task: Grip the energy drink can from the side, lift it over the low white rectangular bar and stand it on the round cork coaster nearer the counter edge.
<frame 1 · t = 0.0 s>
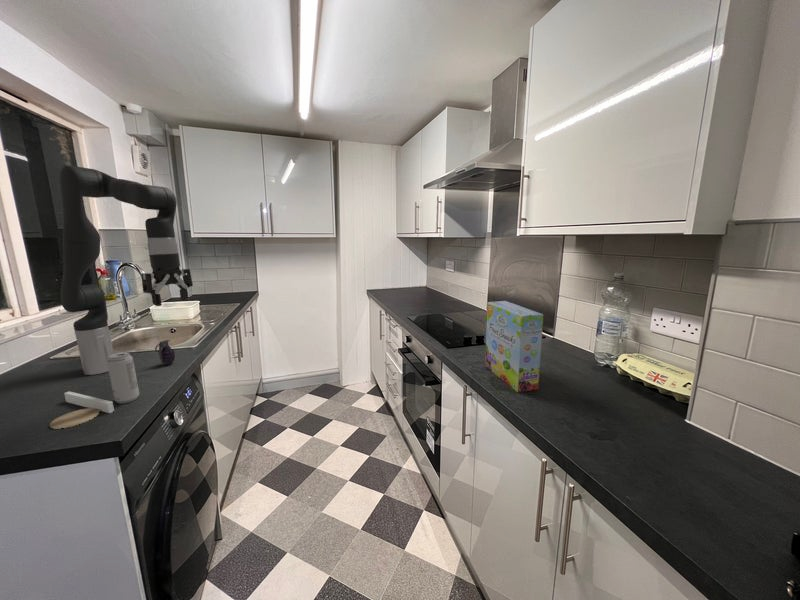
hand: (171, 303, 104), 29 cm above the worktop, tool pointing down, fingers open, 8 cm apart
white rectangular bar: (89, 406, 97), on the worktop
cork coaster: (75, 418, 91), on the worktop
energy drink can: (127, 400, 101), on the worktop
hand grenade: (168, 365, 128), on the worktop
snack box: (509, 378, 113), on the worktop
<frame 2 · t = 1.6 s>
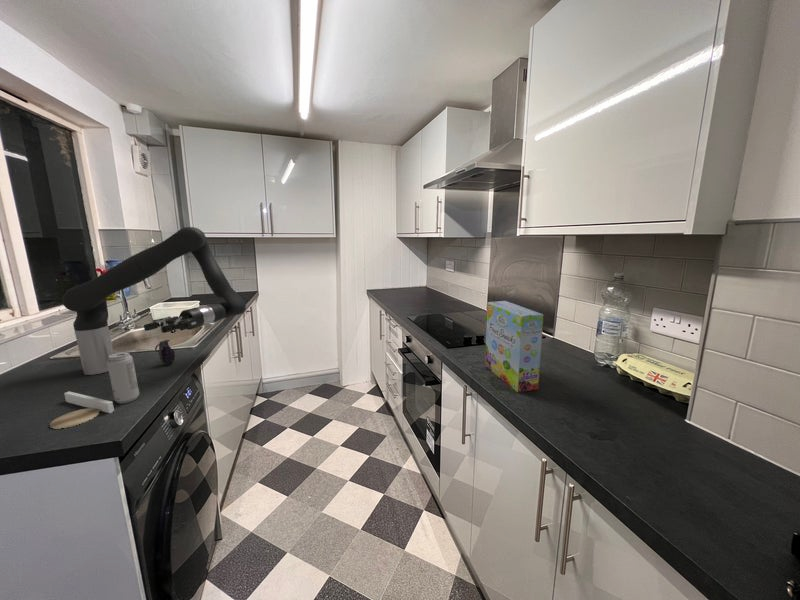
hand: (153, 329, 107), 20 cm above the worktop, tool horizontal, fingers open, 8 cm apart
nothing on the worktop moved.
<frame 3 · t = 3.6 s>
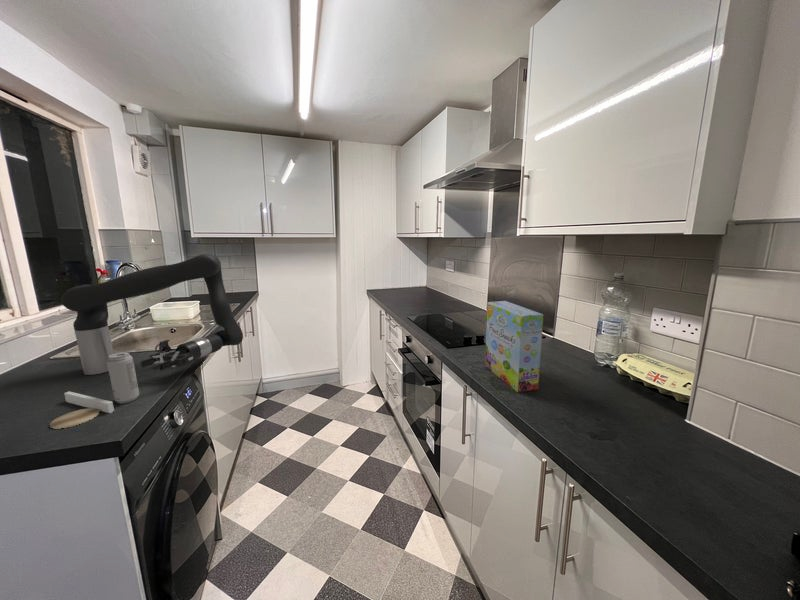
hand: (150, 366, 107), 8 cm above the worktop, tool horizontal, fingers open, 8 cm apart
nothing on the worktop moved.
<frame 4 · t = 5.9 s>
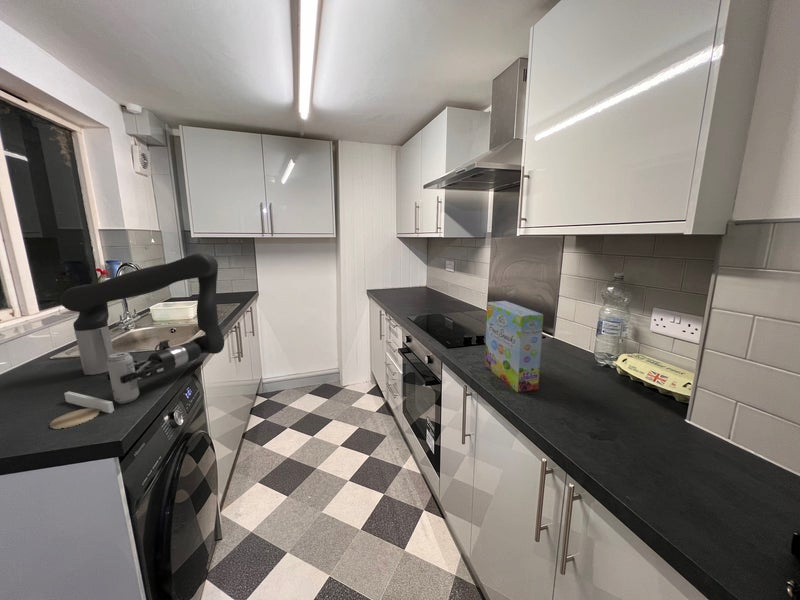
hand: (114, 379, 97), 8 cm above the worktop, tool horizontal, fingers closed on energy drink can, 6 cm apart
energy drink can: (127, 400, 101), on the worktop, touching gripper
everything else where it was.
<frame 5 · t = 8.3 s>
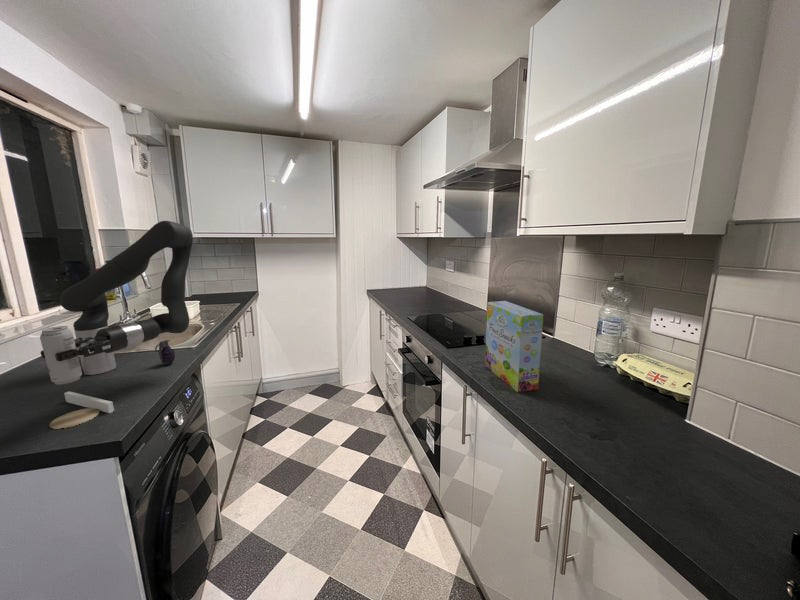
hand: (49, 356, 85), 20 cm above the worktop, tool horizontal, fingers closed on energy drink can, 6 cm apart
energy drink can: (68, 381, 88), point 11 cm above the worktop, touching gripper
everything else where it was.
when the fingers open (9 cm above the worktop, at t = 10.7 s): energy drink can stays where it is, resting on cork coaster.
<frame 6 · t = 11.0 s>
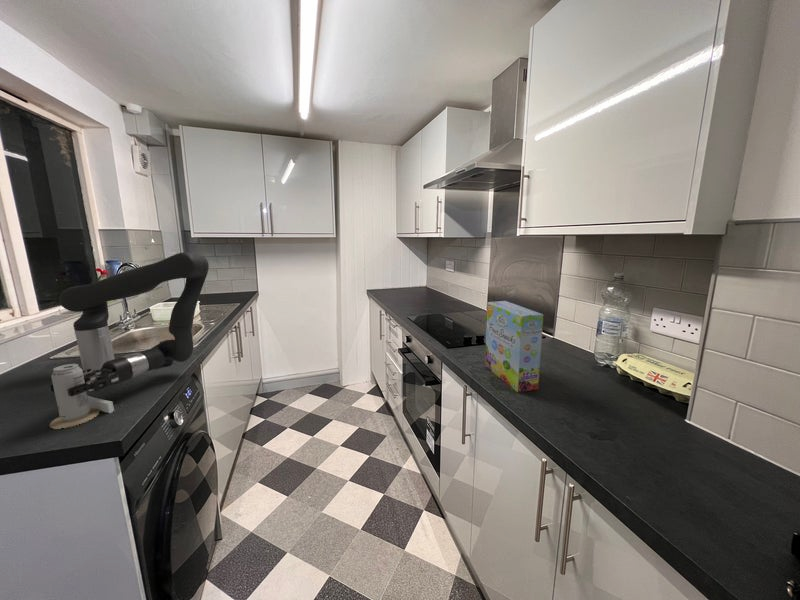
hand: (59, 390, 87), 9 cm above the worktop, tool horizontal, fingers open, 8 cm apart
energy drink can: (76, 417, 91), resting on cork coaster
everything else where it was.
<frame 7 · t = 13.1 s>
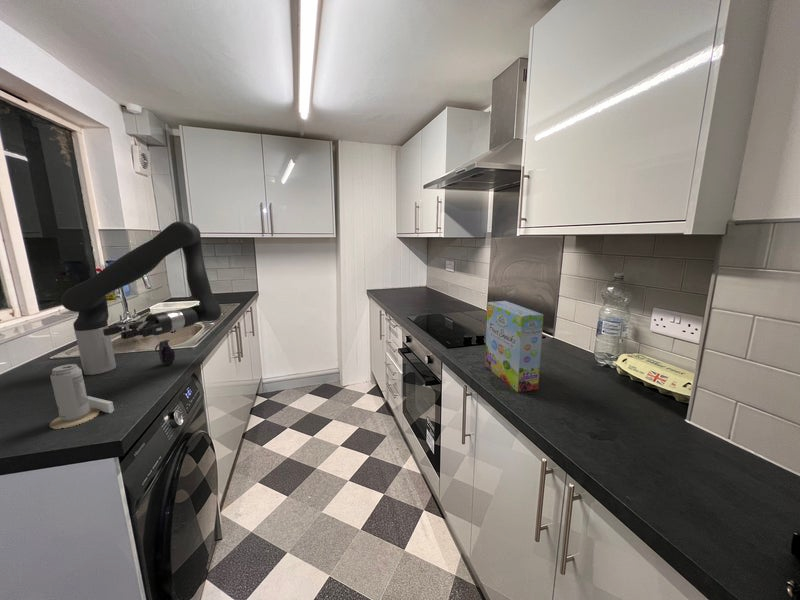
hand: (112, 334, 99), 21 cm above the worktop, tool horizontal, fingers open, 8 cm apart
nothing on the worktop moved.
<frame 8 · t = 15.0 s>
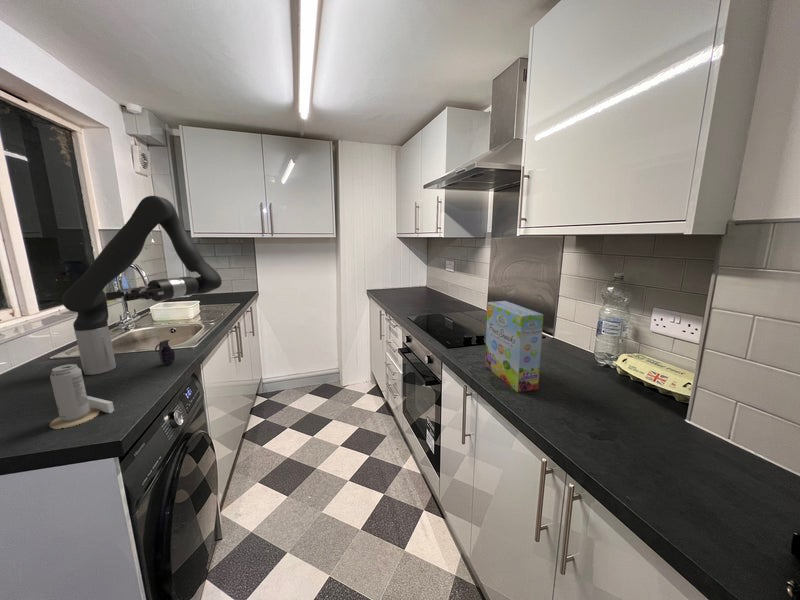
hand: (115, 297, 100), 32 cm above the worktop, tool horizontal, fingers open, 8 cm apart
nothing on the worktop moved.
at the end: energy drink can 0.2 cm from the cork coaster (horizontally); energy drink can tilted 0°; the gripper is holding nothing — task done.
